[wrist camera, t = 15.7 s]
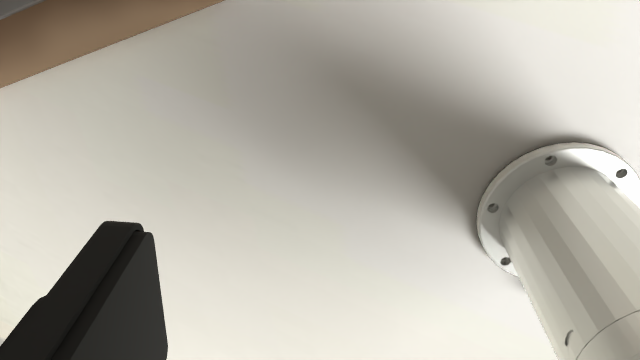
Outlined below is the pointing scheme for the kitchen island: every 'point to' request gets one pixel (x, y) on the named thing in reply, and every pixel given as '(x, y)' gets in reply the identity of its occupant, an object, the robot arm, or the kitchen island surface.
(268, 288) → the kitchen island surface
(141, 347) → the robot arm
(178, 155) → the kitchen island surface
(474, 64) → the kitchen island surface
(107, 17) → the holder
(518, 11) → the kitchen island surface
